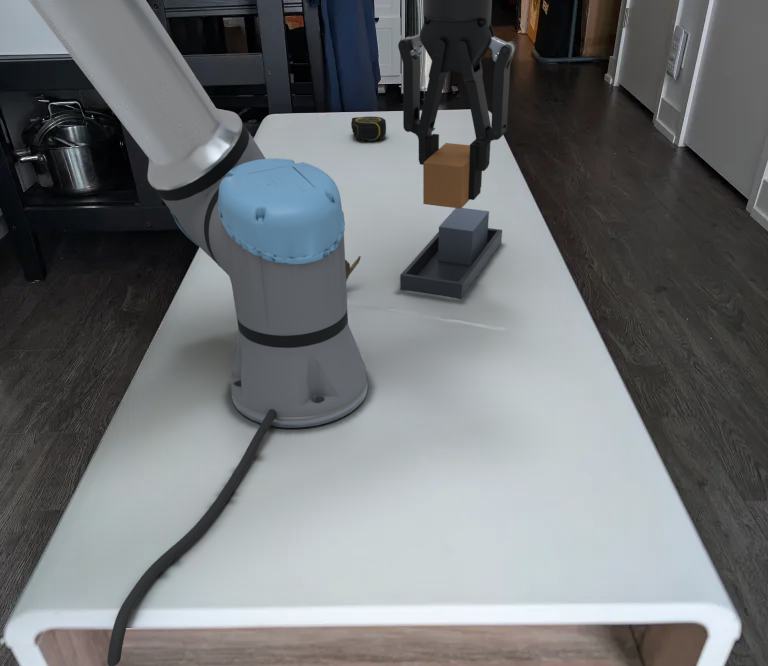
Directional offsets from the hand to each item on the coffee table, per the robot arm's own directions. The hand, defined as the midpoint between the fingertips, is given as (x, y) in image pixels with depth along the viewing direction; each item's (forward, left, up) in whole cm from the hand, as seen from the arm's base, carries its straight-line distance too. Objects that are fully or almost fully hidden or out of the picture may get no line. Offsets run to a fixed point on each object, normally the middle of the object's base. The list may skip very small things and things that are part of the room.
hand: (452, 193), depth 101 cm
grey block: (+11, +1, -12) cm, 16 cm away
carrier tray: (+6, +1, -13) cm, 14 cm away
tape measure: (+60, +37, -13) cm, 72 cm away
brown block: (0, 0, 0) cm, 0 cm away
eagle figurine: (-6, +16, -13) cm, 22 cm away
